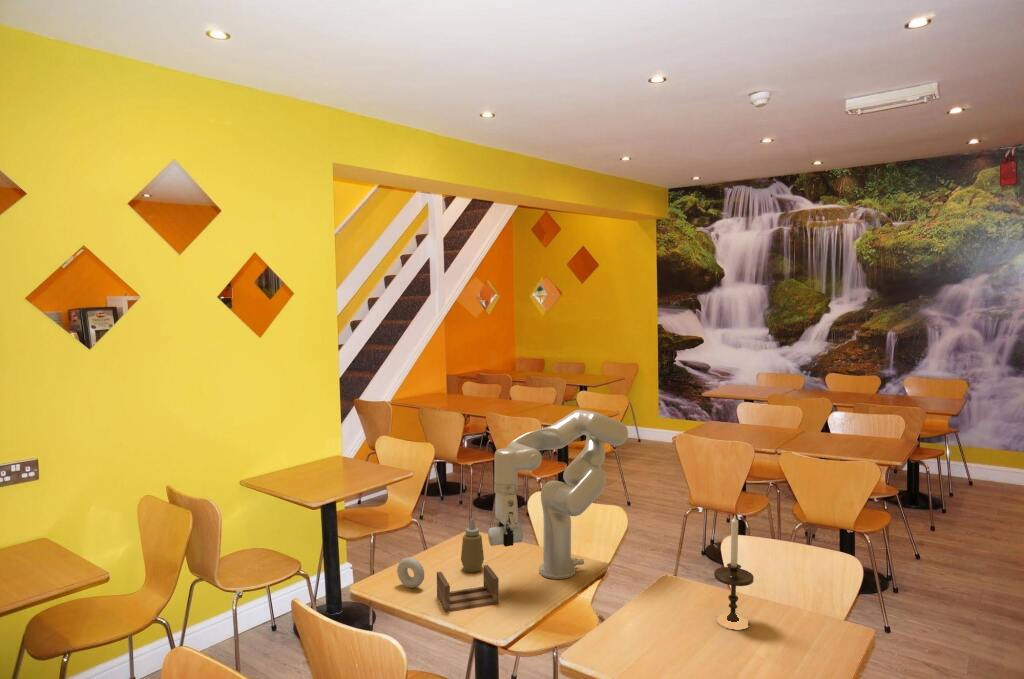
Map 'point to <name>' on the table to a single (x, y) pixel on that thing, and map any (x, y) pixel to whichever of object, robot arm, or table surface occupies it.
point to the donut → (415, 567)
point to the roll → (498, 535)
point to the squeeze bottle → (472, 549)
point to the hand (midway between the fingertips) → (505, 541)
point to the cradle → (468, 593)
